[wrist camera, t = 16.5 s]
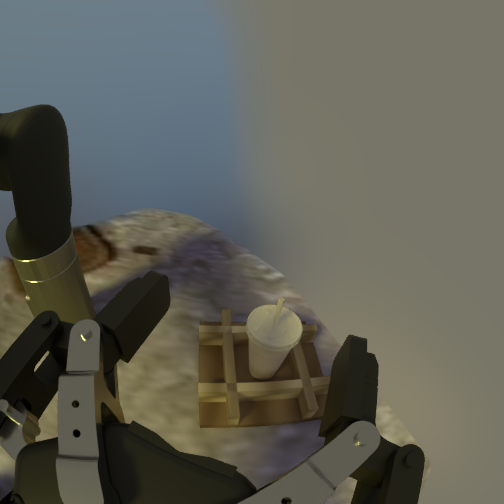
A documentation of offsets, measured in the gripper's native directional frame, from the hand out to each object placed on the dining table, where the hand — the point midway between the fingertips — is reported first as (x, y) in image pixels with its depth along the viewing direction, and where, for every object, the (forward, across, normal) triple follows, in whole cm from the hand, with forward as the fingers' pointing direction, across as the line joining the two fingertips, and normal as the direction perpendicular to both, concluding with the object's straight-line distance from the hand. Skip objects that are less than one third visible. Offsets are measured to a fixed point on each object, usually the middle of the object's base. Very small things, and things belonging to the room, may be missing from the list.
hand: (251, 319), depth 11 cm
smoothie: (+13, 0, +24) cm, 27 cm away
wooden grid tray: (+13, 0, +25) cm, 28 cm away
